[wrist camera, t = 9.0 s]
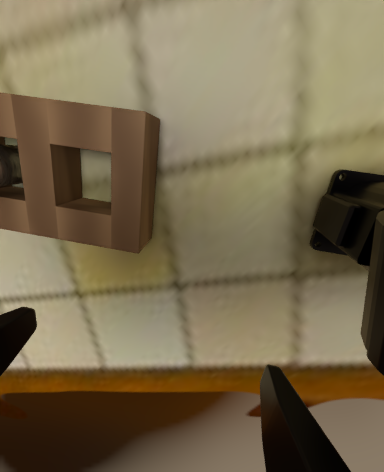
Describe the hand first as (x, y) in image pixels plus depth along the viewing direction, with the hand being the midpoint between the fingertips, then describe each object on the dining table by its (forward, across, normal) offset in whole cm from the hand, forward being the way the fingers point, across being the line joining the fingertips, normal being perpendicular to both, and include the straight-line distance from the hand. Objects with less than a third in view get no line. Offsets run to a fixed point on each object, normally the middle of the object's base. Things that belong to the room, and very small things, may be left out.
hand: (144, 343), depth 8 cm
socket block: (+13, +12, -4) cm, 18 cm away
